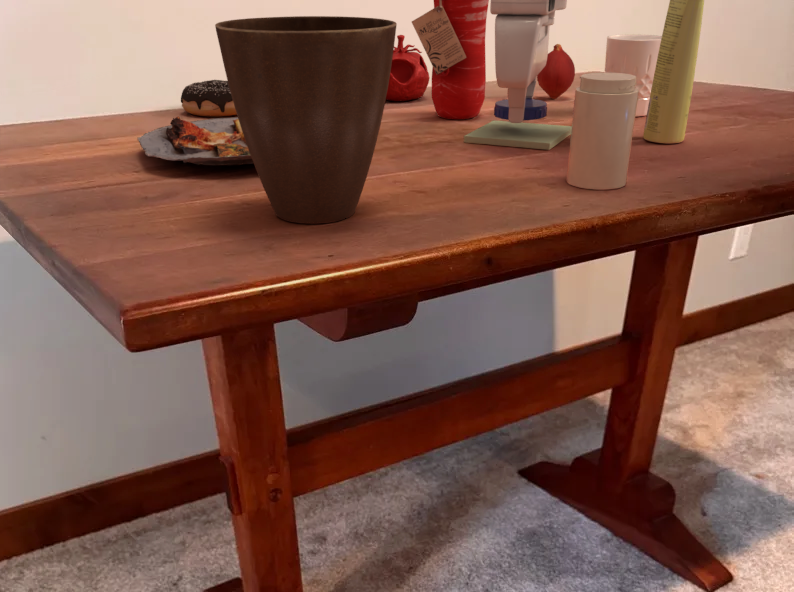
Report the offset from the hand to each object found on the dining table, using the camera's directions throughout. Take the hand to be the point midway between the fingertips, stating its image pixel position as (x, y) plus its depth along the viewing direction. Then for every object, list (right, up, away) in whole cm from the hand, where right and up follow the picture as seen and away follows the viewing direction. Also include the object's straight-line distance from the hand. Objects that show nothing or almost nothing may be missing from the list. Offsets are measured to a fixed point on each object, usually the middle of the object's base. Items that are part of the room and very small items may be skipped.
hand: (520, 116), depth 100 cm
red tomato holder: (-15, +13, +28) cm, 34 cm away
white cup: (+18, +6, +15) cm, 24 cm away
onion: (+10, +12, +26) cm, 30 cm away
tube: (+18, -4, -1) cm, 18 cm away
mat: (0, -2, +1) cm, 3 cm away
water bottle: (-8, +4, +13) cm, 16 cm away
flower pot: (-23, -19, -26) cm, 40 cm away
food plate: (-34, -6, -4) cm, 35 cm away
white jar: (+5, -13, -18) cm, 23 cm away
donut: (-42, +8, +20) cm, 47 cm away
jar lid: (0, +1, -1) cm, 1 cm away
